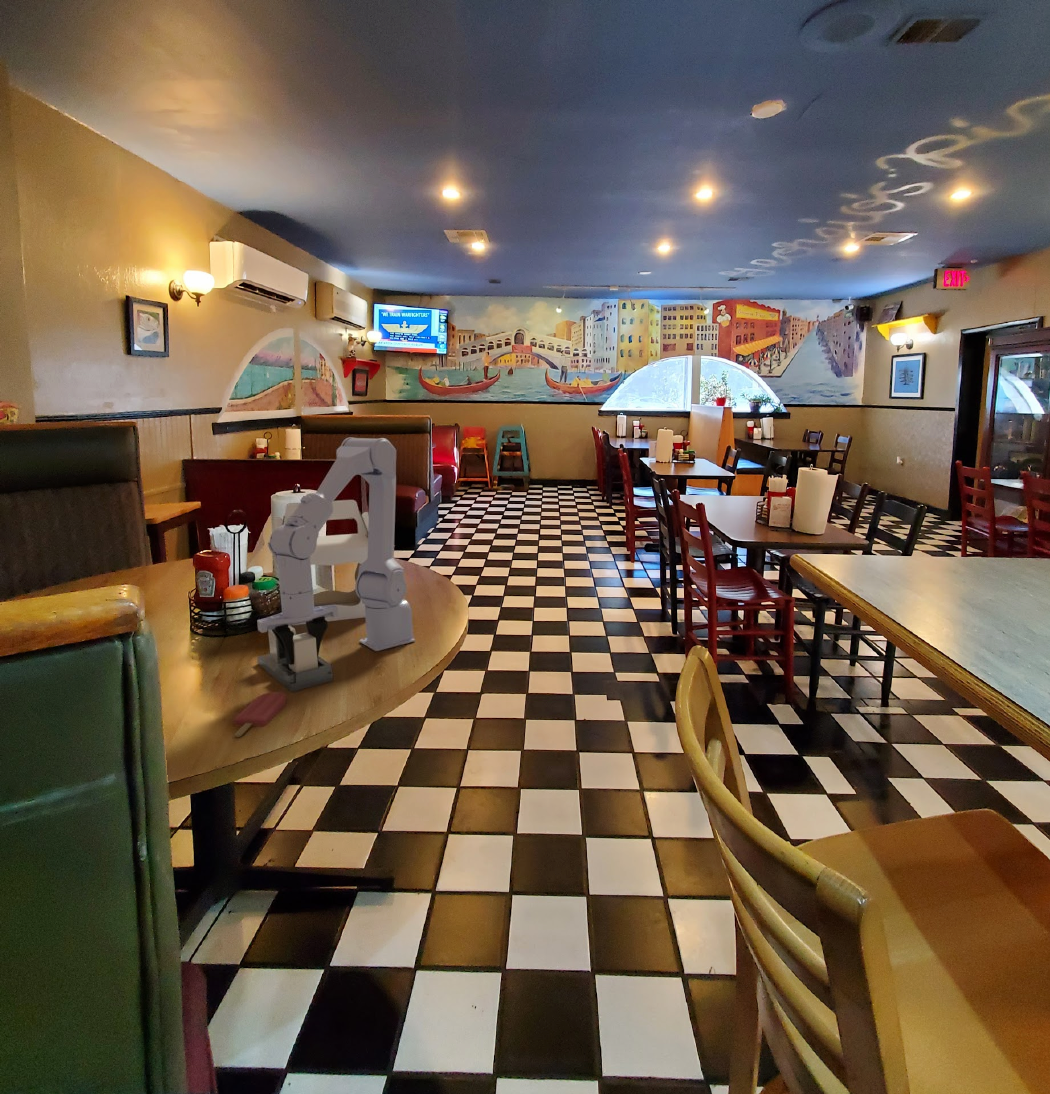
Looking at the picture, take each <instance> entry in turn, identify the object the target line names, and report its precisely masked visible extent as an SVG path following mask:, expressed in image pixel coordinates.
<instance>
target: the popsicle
mask: <svg viewBox="0 0 1050 1094" xmlns="http://www.w3.org/2000/svg"><path fill="white" fill-rule="evenodd" d="M286 703H287V696H286V694H285V693H283V692H280V691H276V692H275V691H273V692H272V691H271V692H266V693H263V694H261V695H259V696H257V697H256V698H255V699H254V700H253V701H251V703H249V704H248V705H247V706H246V707H245V708H244V709H243V710H241V712H239V713H238V715H237V716H235V717H234V718H233V724H234V726H236V727H238V726H239V727H240V728H239V729H238V730H237V731H236V732H235V733H234V734H233V735H234V737H235V738H240V737H242V736H243V735H244V734H245V733H246V731H247V730H249V729H250V728H251V727H266V726H268V724H269V723H270V722H271V721H272V719H274V717H276V715H278V713H279V712H280V711H281V709H282V708H283V707H284V706H285V705H286Z"/></svg>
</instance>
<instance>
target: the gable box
mask: <svg viewBox="0 0 1050 1094" xmlns="http://www.w3.org/2000/svg"><path fill="white" fill-rule="evenodd" d="M300 503H301V502H289V503H288V504H286V506H285V512H284V515H283V517H282V518H281V517H278V516H277V517H275V526H274V527H275V529H276V528H277V527H279V526H281V525H285V523H286V522H287V519H288V518H289V517H290V516H291V515H292V514H293V512H294V511H295V510H296V508H297V507H298V506H299V504H300ZM332 506H333V513H332V514H331V515H330V517H329V518H328V520H327V521H332V520H346V519H347V520H348V519H349V520H353V519H354V520H355V521H356V524H357V533H349V534H348V533H347V534H334V535H333V534H332V535H321V536H320V535H318V538H317V545H316V549H315V551H314V552H313V553H312V554H311V555H310V561H311V566H312V565H313V566H314V565H315V566H317V565H318V566H338V565H339V566H340V565H344V564H349V563H356V564H357V565H356V569H355V572H354V581H355V583H356V580H357V577H358V573H359V566H360V565H361V564H362V563H363V562H364V561H365V560H367V558H368V524H369V511H363V513H362V512H361V511H360V510H359V507H358V502H357V501H356V500H354V499H342V500H341V499H340V500H339V499H338V500H334V501H333V502H332ZM275 529H274V530H275ZM313 598H314V607H318V606H327V605H335V606H337V607H338V616H337V617H332V616H331V617H327V618H325V620H326V621H328V623H329V622H335V621H337V622H338V621H345V620H354V619H362V618H363V619H364V618H365V604H362V599H361V598H359V597H358V596H357V594H356V590H355V589H354V590H352V591H341V590H323V591H320V592H317V593H313ZM300 625H306V622H304V623H299V624H295V625H290V626H291V627H293V626H300Z"/></svg>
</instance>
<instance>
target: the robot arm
mask: <svg viewBox="0 0 1050 1094" xmlns="http://www.w3.org/2000/svg"><path fill="white" fill-rule="evenodd" d="M335 452H336V454H335V455H336V459H335V461H334V462H333V464H332V465H331V467H330V469H329V471H328V472H327V474H326V476H325V477H324V479H323V480H322V482H321V484H320V485H319V487H318V489H317V490H316V492H311V493H307V494H306V495H303V496H302V497H301V498H300V502H299V503H300V504H299V506H298V507H297V508H296V510H295V511H294V512H293V514H292V515H291V516H290V517H289V518H288V519H287V522H286V523H285V525H281V526H279V527H277V528H276V529H274V530H273V531H272V533H271V535H270V537H269V541H268V542H267V547H268V549H269V551H270V553H272V555H273V557H274V562H275V564H276V565H277V572H278V583H279V596H280V605H281V612H280V613H277V614H274V615H271V616H268V617H264V618H261V619H260V618H259V619H257V620H256V621H257V623H256V624H257V630H258V632H260V633H267V632H268V630H272V632H273V633H274V635H275V636H276V638H277V639H278V641H279V643H280V645H281V647H282V649H283V651H284V654H285V657H286V661H287V663H289V664H290V665H293V664H294V652H293V635H294V633H293V632H292V631H290V628H289V627H288V626H290V625H293V626H296V625H295V624H299V623H304V622H306V624H305V625H306V628H307V629H306V630H307V633H309V634H310V635H312V636H313V637H315V638H316V649H317V658H318V656H319V654H320V650H321V649H320V647H321V644H322V640H323V637H324V635H325V633H326V631H327V629H328V627H329V622H328V621H326V620H325V618H327V617H331V616H332V617H337V616H338V607H337V606H335V605H327V606H318V607H314V598H313V594H314V589H313V588H314V587H313V577H312V576H313V575H312V565H311V561H310V555H311V554H312V553H313V552H314V551H315V549H316V545H317V538H318V536H319V535H320V531H321V530H322V528H323V527H324V526H325V524H326V523H327V521H329V520H328V518H329V517H330V515H331V514H332V513H333V506H332V502H333V501H335V500H336V498H337V497H338V496H339V494H341V492H342V491H343V490H344V489H345V487H346V486H348V484H349V483H350V482H351V481H352V479H353V478H354V477H355V476H357V475H359V476H361V477H362V478H363V479H364V480H365V482H367V483H368V485H369V487H368V488H369V489H368V490H369V493H368V494H369V495H368V516H369V524H368V558H367V560H365V561H364V562H363V563H362V564H361V565H360V566H359V573H358V577H357V580H356V582H355V584H354V586H355V587H354V590H356V594H357V596H358V597H359V598H361V599H362V604H365V617H364V618H365V629H366V630H365V631H366V637H364V638H361V639H359V643H361V644H363V645H364V646H366V647H368V648H370V649H371V650H373V651H375V652H379V651H383V650H387V649H391V648H394V647H398V646H403V645H405V644H409V643H413V642H415V640H416V639H415V638H414V632H413V627H414V626H413V612H412V608H411V606H410V603H409V602H408V601H407V600H406V599H405V596H406V593H407V583H406V579H405V569H404V568H403V566H401V564H400V563H399V562H398V561H396V560H395V558H394V557H395V556H394V555H395V525H396V524H395V523H396V494H397V493H396V492H397V491H396V490H397V475H396V473H397V470H396V469H397V449H396V448H395V446H394V445H393V444H392V443H391V441H390V440H388V439H387V438H385V437H380V438H367V437H366V438H365V437H364V438H363V437H361V438H360V437H354V436H353V437H351V436H350V437H346V438H345V439H343V441H342V443H341V445H340V446H339V447H338V448H337V449H336V451H335Z"/></svg>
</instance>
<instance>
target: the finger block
mask: <svg viewBox="0 0 1050 1094" xmlns="http://www.w3.org/2000/svg"><path fill="white" fill-rule="evenodd" d="M293 652H294V664H293V665H290V664H289V668H290V669H292V670H293V671H294V672H296V673H298V672H302V671H306V670H309V669H313V668H317V667H318V661H317V649H316V638H315V637H313V636H312V635H310V634H309V633H308V632H303V633H299V634H296V635H294V636H293Z"/></svg>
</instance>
